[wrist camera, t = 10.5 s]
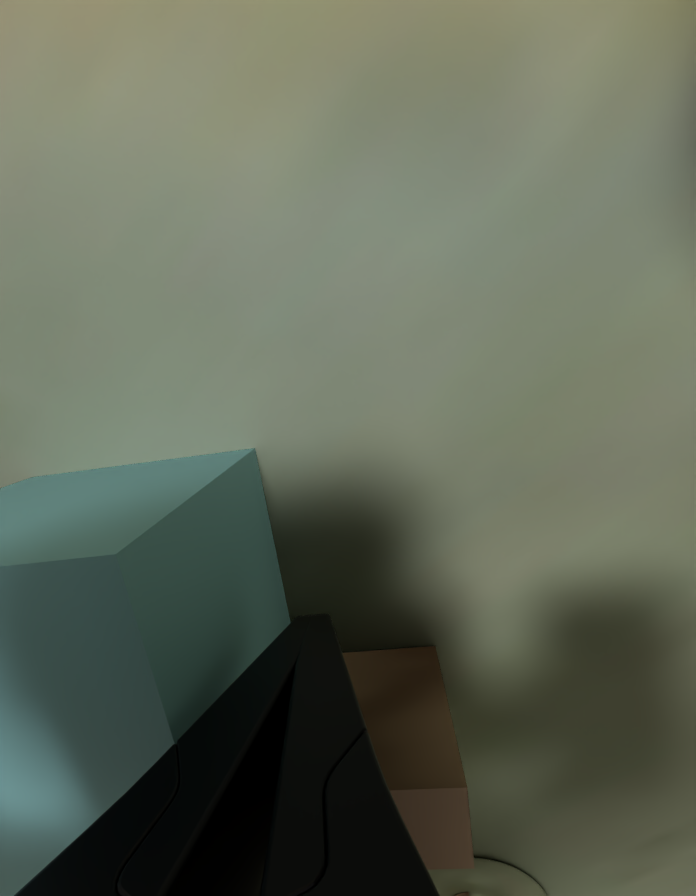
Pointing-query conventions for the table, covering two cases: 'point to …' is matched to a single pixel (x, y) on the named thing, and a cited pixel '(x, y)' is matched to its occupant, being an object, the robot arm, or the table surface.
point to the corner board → (416, 749)
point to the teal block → (120, 631)
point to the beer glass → (485, 880)
